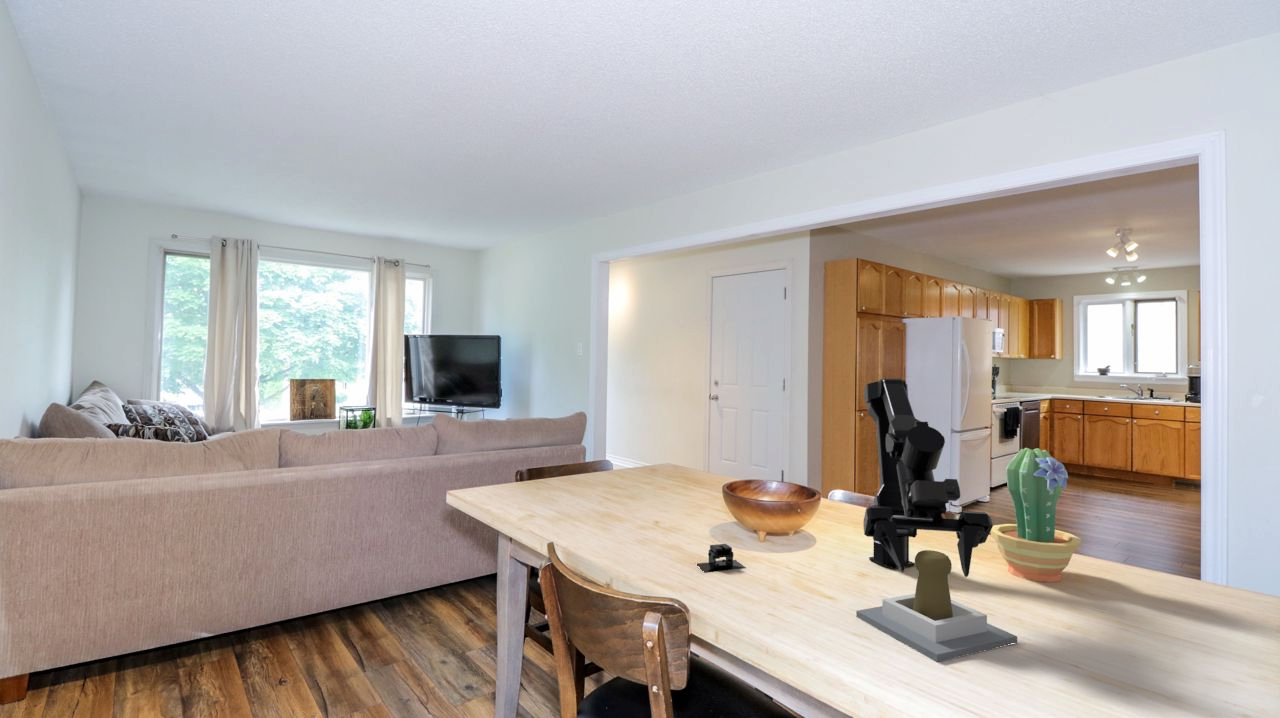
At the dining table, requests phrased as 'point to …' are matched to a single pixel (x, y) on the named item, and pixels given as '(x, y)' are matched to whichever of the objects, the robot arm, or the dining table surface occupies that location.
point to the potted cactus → (1035, 519)
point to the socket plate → (936, 628)
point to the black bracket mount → (720, 565)
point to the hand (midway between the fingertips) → (934, 573)
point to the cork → (933, 585)
